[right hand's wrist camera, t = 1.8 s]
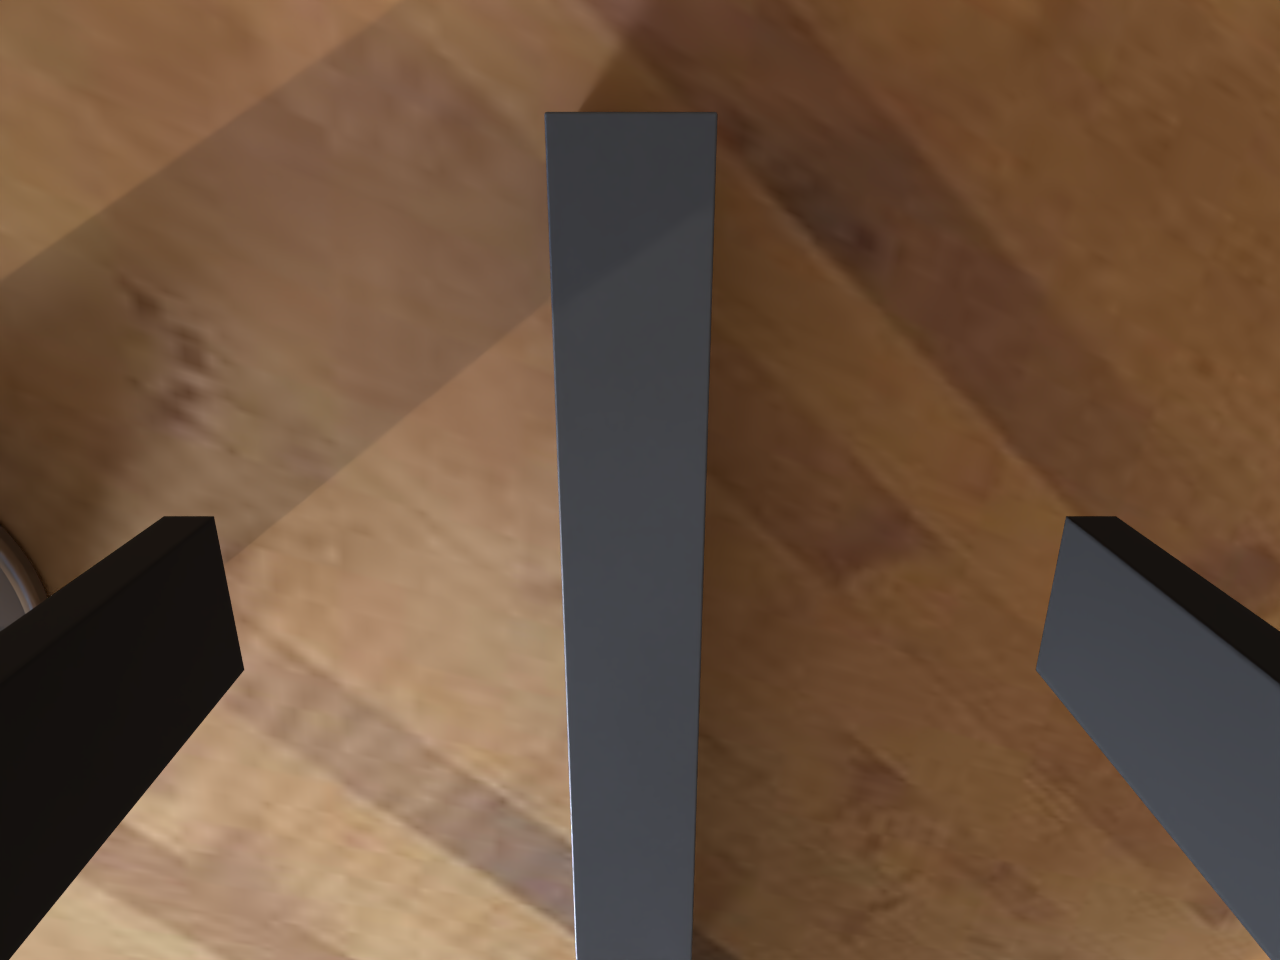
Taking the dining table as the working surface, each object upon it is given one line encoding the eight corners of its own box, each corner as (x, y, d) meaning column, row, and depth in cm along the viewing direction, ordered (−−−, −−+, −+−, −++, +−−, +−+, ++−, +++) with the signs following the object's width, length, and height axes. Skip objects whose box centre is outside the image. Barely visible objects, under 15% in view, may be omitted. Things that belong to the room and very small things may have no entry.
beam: (566, 129, 31) (544, 111, 23) (696, 129, 31) (717, 112, 23) (594, 1094, 50) (587, 1261, 42) (675, 1094, 50) (682, 1260, 42)
